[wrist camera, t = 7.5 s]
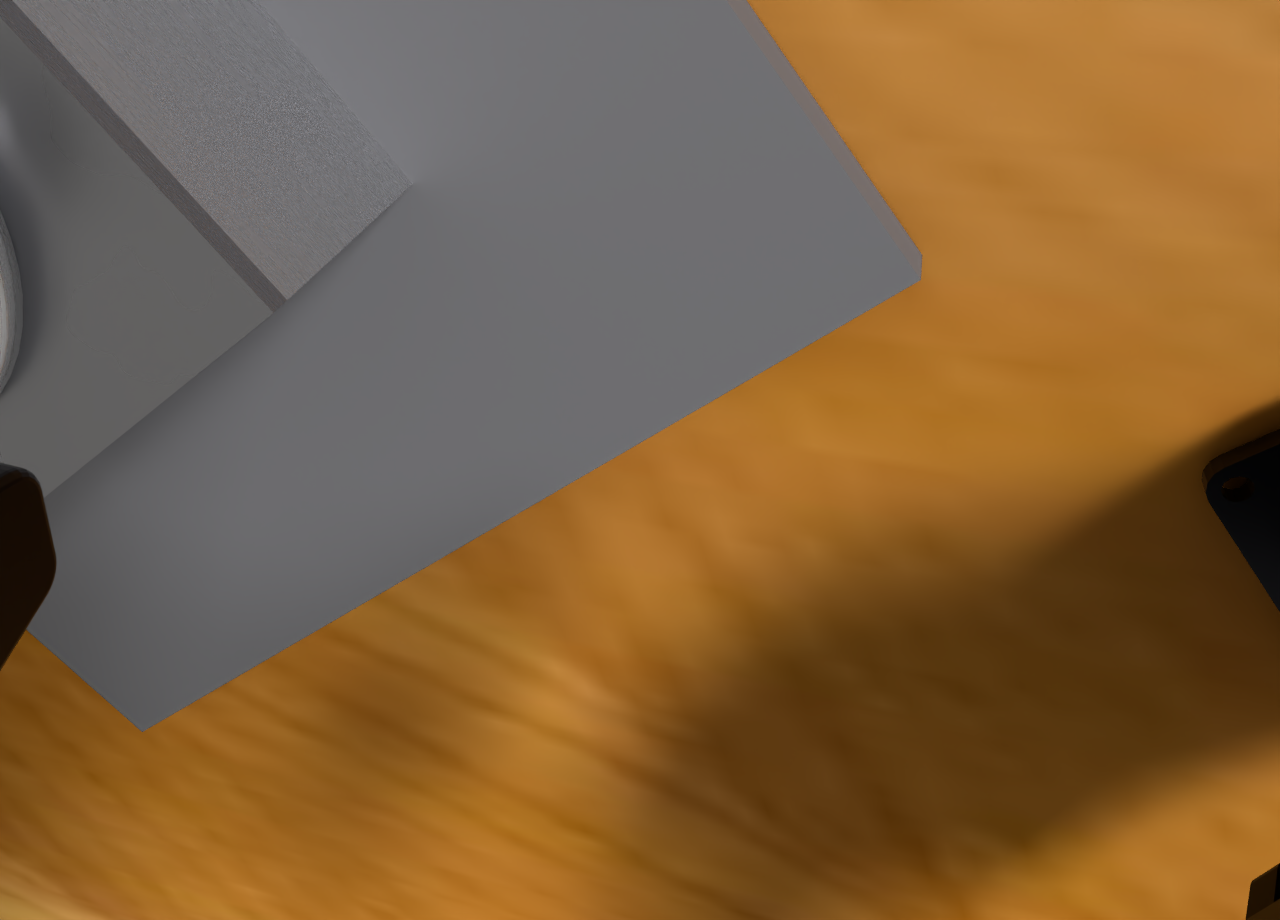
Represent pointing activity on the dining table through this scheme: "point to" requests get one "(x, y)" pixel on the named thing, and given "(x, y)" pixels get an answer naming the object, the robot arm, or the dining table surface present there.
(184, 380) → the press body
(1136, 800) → the dining table surface
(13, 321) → the plunger
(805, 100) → the slate mat
